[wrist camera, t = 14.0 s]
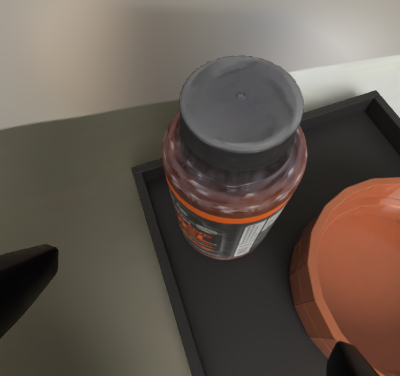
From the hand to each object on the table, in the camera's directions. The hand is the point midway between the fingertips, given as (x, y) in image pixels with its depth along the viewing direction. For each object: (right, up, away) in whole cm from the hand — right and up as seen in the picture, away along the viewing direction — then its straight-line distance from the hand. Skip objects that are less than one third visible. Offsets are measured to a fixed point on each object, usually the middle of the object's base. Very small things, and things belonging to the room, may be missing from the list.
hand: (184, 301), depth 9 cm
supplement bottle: (+2, +1, +11) cm, 11 cm away
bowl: (+11, -2, +8) cm, 14 cm away
